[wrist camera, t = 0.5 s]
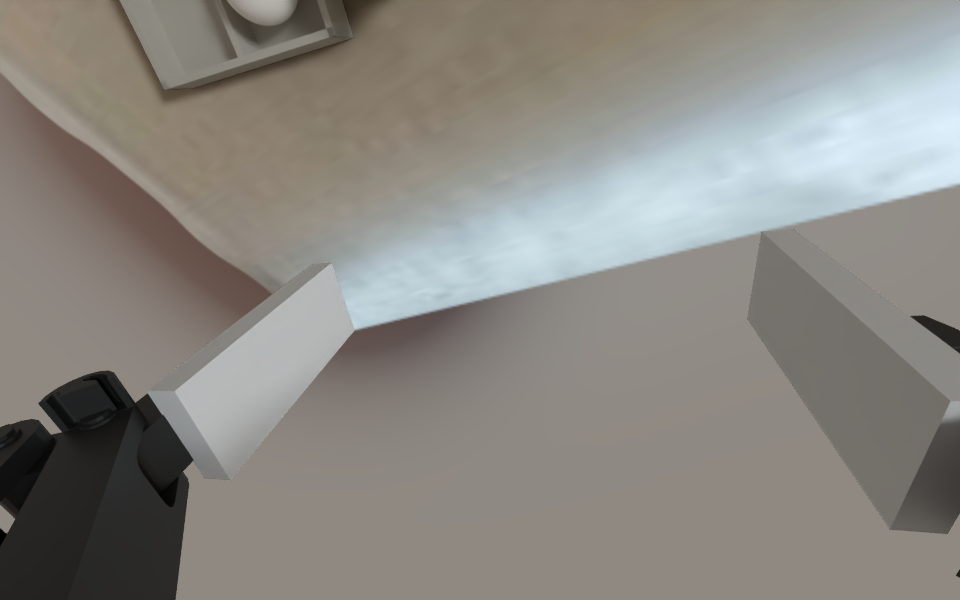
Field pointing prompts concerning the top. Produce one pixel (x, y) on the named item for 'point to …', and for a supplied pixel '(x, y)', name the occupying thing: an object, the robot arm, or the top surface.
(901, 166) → the top surface
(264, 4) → the white egg
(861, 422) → the robot arm
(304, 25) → the carton
